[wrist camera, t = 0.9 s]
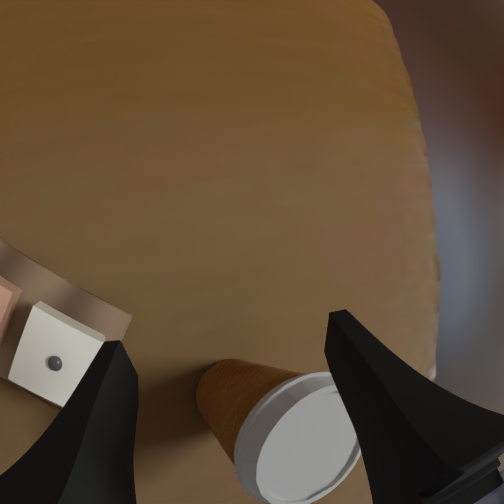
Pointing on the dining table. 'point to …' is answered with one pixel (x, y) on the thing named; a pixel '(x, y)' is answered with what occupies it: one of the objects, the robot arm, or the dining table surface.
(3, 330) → the key two
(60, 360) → the key one
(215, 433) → the disposable coffee cup
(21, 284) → the board
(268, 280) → the dining table surface
